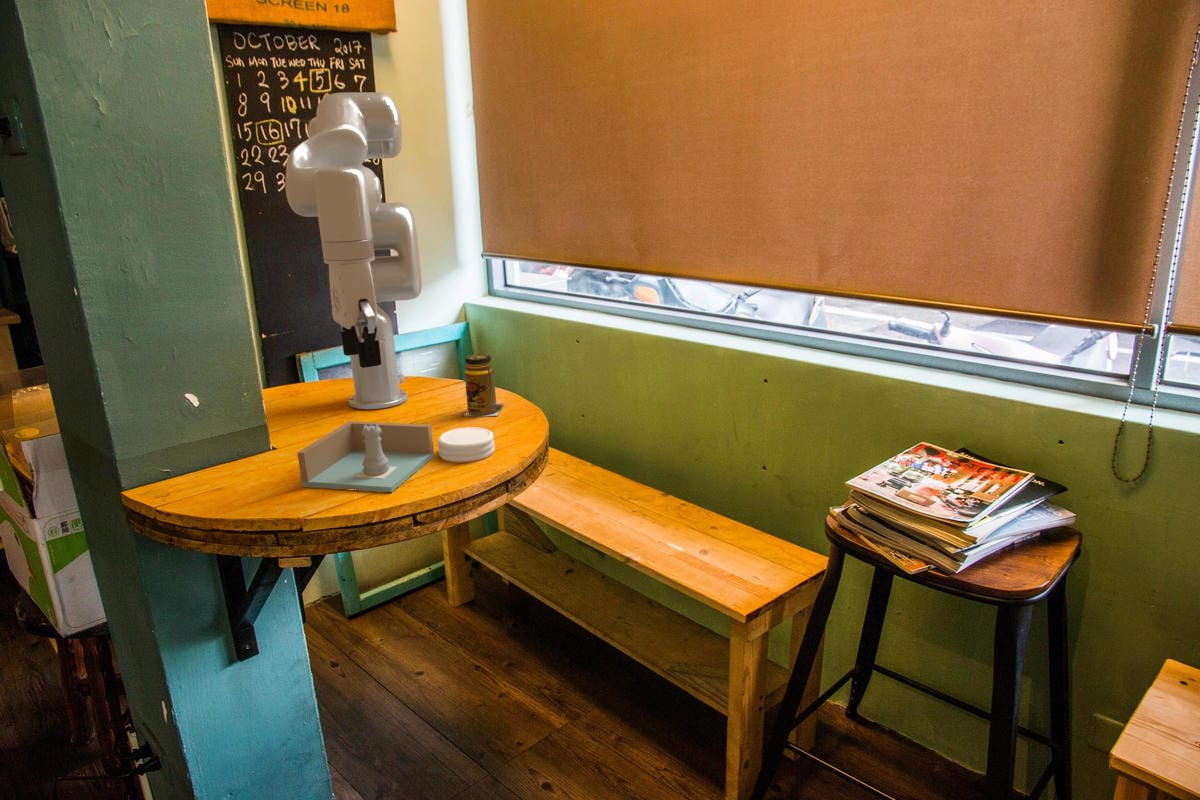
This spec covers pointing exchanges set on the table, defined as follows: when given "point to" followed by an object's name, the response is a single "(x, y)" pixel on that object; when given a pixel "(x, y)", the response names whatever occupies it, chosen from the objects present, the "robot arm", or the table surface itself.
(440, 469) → the table surface
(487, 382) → the condiment
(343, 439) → the corner arena
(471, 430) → the white round container
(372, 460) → the rook chess piece
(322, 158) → the robot arm
